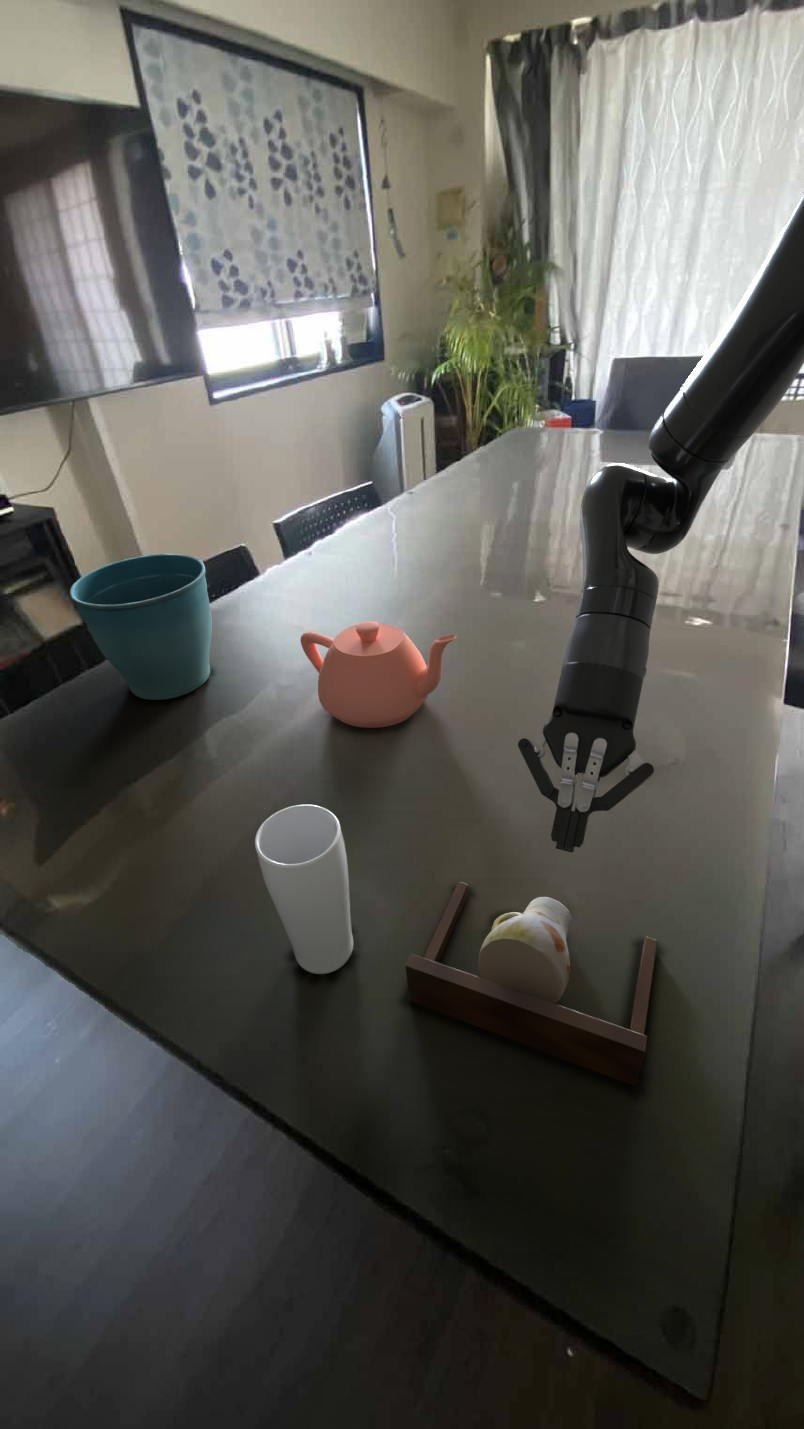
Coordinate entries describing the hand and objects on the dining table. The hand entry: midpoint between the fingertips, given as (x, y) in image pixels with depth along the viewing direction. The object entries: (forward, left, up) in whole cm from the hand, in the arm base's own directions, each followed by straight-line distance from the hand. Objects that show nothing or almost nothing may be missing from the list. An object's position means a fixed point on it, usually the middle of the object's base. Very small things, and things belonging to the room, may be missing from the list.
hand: (565, 850), depth 59 cm
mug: (+1, +9, -5) cm, 10 cm away
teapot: (+30, -22, -5) cm, 38 cm away
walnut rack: (0, +10, -5) cm, 11 cm away
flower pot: (+64, -18, -5) cm, 67 cm away
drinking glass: (+18, +15, -5) cm, 24 cm away
